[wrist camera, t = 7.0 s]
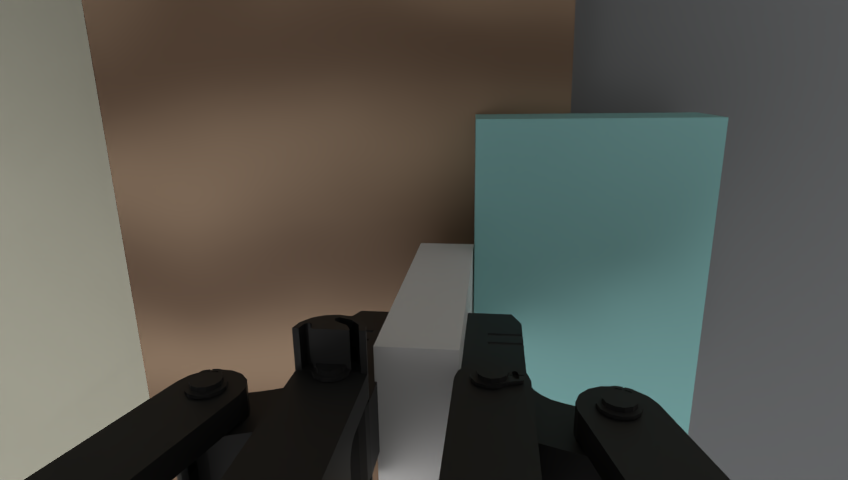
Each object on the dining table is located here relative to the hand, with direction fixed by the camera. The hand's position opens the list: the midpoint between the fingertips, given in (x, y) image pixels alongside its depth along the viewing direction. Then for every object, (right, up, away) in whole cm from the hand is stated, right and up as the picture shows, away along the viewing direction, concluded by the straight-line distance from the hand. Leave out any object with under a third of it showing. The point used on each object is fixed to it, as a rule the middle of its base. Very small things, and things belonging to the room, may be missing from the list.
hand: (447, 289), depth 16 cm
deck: (-3, +2, +5) cm, 6 cm away
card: (+4, +1, +1) cm, 4 cm away
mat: (+10, +2, +4) cm, 11 cm away
